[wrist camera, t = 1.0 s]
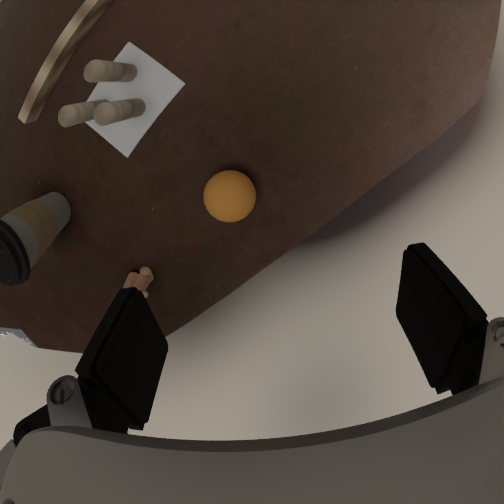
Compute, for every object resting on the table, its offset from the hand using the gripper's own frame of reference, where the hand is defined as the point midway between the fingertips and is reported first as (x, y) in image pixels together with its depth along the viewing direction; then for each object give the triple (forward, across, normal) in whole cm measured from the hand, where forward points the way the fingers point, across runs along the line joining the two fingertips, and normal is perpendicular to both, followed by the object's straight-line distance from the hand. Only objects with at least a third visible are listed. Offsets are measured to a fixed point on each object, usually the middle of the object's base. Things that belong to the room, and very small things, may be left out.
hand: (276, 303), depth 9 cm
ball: (+24, +4, +3) cm, 24 cm away
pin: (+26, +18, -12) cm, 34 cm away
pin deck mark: (+26, +15, -12) cm, 32 cm away
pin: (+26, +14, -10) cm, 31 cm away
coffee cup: (+27, +32, 0) cm, 42 cm away
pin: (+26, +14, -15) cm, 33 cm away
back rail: (+26, +22, -22) cm, 41 cm away
